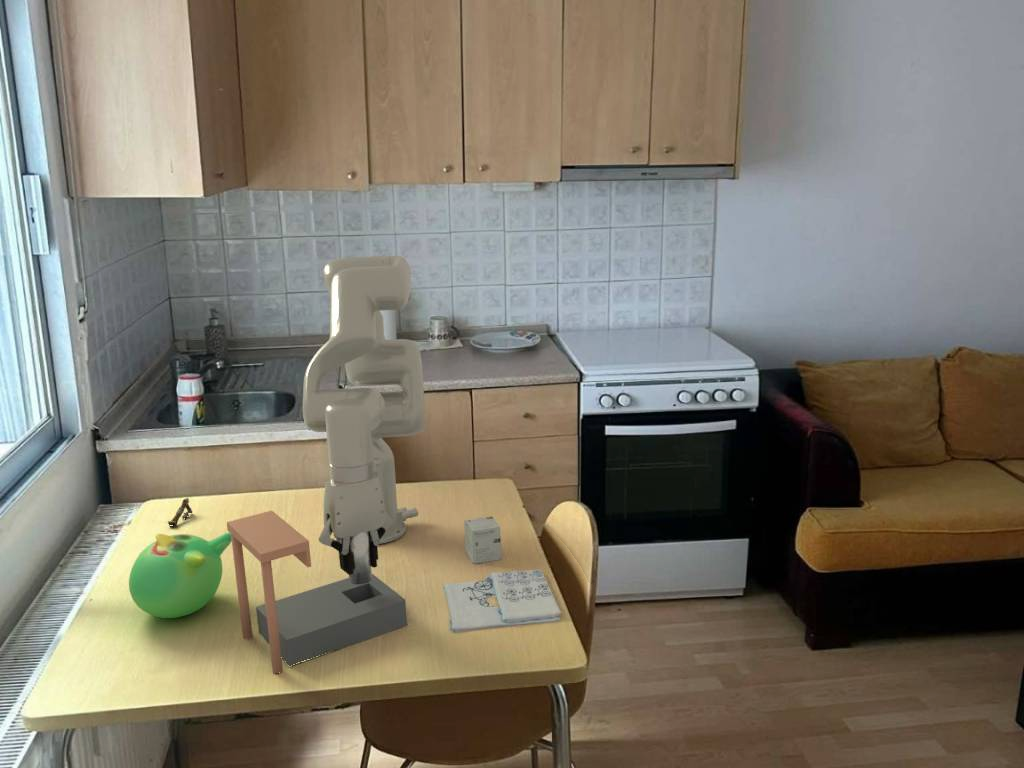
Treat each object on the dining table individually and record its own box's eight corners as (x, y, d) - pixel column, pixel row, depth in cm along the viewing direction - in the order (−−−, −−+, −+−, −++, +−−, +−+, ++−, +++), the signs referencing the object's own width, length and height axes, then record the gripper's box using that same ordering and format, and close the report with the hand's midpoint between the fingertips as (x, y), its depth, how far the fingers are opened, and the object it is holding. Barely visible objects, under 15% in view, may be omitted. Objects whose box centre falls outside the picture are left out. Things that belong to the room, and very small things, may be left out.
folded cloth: (562, 624, 168) (562, 613, 167) (448, 636, 165) (448, 625, 165) (543, 575, 186) (543, 565, 185) (440, 585, 183) (439, 575, 183)
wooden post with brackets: (196, 509, 221) (190, 496, 218) (181, 535, 215) (174, 521, 212) (189, 509, 221) (183, 495, 218) (174, 535, 215) (167, 521, 212)
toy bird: (158, 587, 185) (148, 517, 181) (243, 585, 185) (235, 515, 181) (118, 634, 168) (106, 558, 164) (212, 633, 167) (203, 557, 163)
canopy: (283, 621, 171) (271, 510, 165) (320, 659, 158) (308, 540, 152) (240, 635, 166) (226, 522, 161) (274, 676, 154) (260, 554, 148)
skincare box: (473, 564, 190) (471, 531, 188) (465, 552, 196) (463, 519, 194) (502, 559, 192) (500, 526, 190) (493, 547, 198) (491, 515, 196)
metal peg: (365, 572, 171) (361, 520, 169) (375, 580, 168) (372, 527, 165) (345, 578, 169) (341, 526, 166) (355, 586, 166) (351, 533, 163)
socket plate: (371, 595, 179) (369, 571, 178) (407, 625, 168) (405, 599, 167) (258, 632, 167) (255, 606, 166) (289, 667, 156) (286, 640, 155)
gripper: (385, 455, 171) (391, 548, 176) (297, 475, 162) (306, 574, 166) (405, 466, 165) (411, 562, 170) (315, 488, 156) (324, 589, 160)
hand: (359, 567), depth 168 cm, fingers closed on metal peg, 4 cm apart
